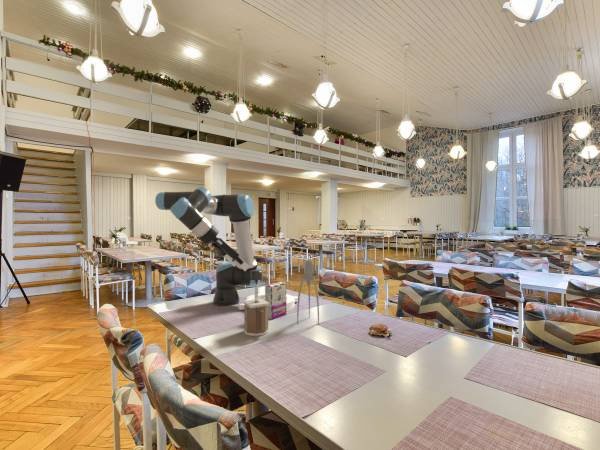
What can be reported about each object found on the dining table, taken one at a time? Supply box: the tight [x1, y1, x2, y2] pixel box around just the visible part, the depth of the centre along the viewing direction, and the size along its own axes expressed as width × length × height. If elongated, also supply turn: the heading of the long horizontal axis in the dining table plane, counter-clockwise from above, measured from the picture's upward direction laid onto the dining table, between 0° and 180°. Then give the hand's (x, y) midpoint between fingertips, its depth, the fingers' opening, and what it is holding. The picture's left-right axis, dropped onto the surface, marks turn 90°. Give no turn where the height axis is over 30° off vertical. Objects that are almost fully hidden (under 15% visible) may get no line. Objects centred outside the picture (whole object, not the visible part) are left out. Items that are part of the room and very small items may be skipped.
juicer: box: [296, 258, 320, 324], centre depth 151 cm, size 10×9×30 cm
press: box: [242, 299, 270, 337], centre depth 134 cm, size 13×10×13 cm
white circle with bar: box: [237, 292, 298, 312], centre depth 176 cm, size 28×28×5 cm
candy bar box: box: [264, 281, 287, 320], centre depth 157 cm, size 11×5×16 cm, turn 142°
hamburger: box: [369, 323, 393, 340], centre depth 132 cm, size 14×14×6 cm
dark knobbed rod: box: [251, 269, 263, 303], centre depth 135 cm, size 5×5×18 cm
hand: (241, 266), depth 131 cm, fingers open, 13 cm apart
